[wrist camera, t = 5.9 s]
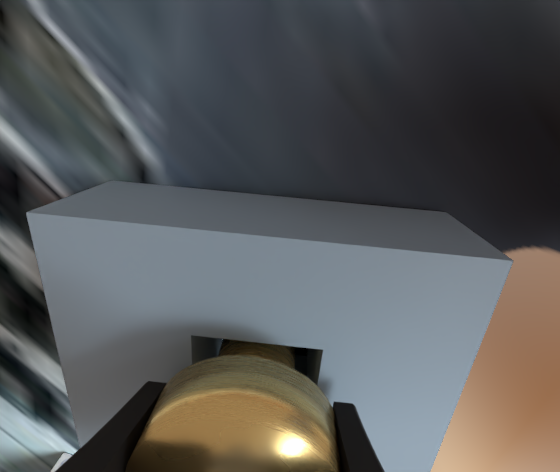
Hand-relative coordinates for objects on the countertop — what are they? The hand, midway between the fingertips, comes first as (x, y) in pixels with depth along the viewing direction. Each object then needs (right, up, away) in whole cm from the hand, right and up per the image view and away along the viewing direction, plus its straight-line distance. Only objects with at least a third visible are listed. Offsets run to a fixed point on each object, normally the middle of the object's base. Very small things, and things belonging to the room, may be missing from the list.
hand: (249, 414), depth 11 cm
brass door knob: (0, +2, +3) cm, 4 cm away
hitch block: (0, +2, +5) cm, 5 cm away
